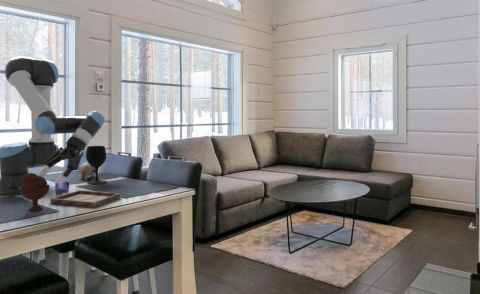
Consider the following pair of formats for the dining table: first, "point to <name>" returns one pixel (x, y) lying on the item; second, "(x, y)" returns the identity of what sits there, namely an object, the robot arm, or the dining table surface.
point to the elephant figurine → (86, 170)
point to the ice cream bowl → (34, 189)
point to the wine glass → (96, 160)
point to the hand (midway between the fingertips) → (47, 181)
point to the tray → (85, 198)
